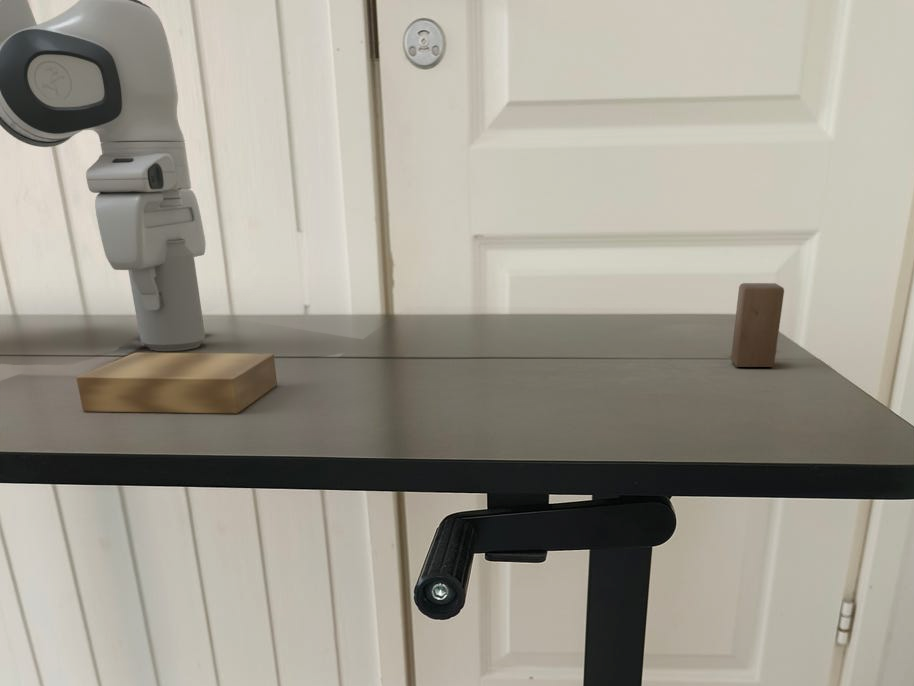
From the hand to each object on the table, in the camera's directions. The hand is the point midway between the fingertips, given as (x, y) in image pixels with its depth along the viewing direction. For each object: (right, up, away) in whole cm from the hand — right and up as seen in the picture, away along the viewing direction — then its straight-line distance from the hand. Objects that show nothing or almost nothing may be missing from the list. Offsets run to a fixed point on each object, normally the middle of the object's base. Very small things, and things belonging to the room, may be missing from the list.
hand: (169, 304), depth 108 cm
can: (0, -5, +2) cm, 5 cm away
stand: (+9, -17, -23) cm, 30 cm away
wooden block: (+65, -11, -10) cm, 67 cm away
